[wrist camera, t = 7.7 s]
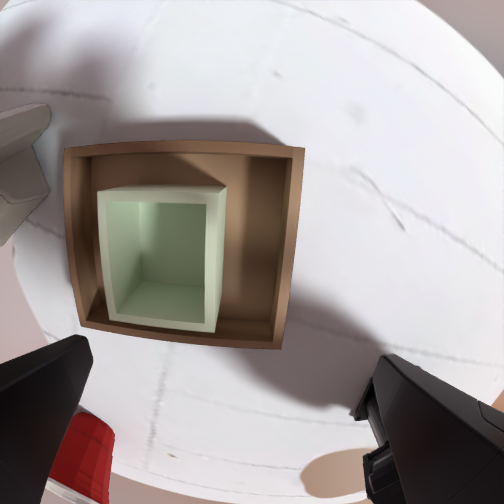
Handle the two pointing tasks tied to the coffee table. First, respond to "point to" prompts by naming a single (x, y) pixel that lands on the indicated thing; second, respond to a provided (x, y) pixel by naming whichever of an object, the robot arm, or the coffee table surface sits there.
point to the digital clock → (20, 165)
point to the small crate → (163, 254)
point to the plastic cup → (83, 462)
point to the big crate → (235, 240)
